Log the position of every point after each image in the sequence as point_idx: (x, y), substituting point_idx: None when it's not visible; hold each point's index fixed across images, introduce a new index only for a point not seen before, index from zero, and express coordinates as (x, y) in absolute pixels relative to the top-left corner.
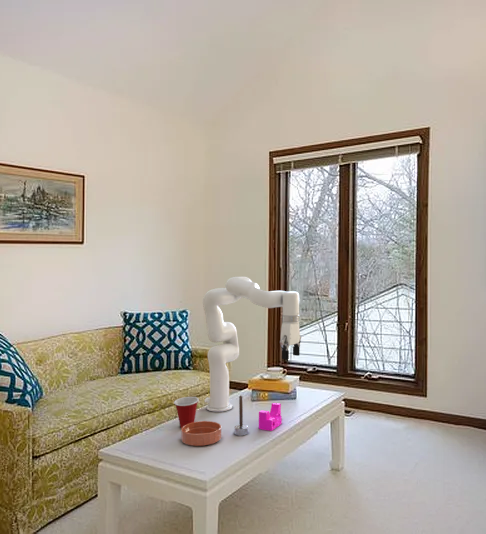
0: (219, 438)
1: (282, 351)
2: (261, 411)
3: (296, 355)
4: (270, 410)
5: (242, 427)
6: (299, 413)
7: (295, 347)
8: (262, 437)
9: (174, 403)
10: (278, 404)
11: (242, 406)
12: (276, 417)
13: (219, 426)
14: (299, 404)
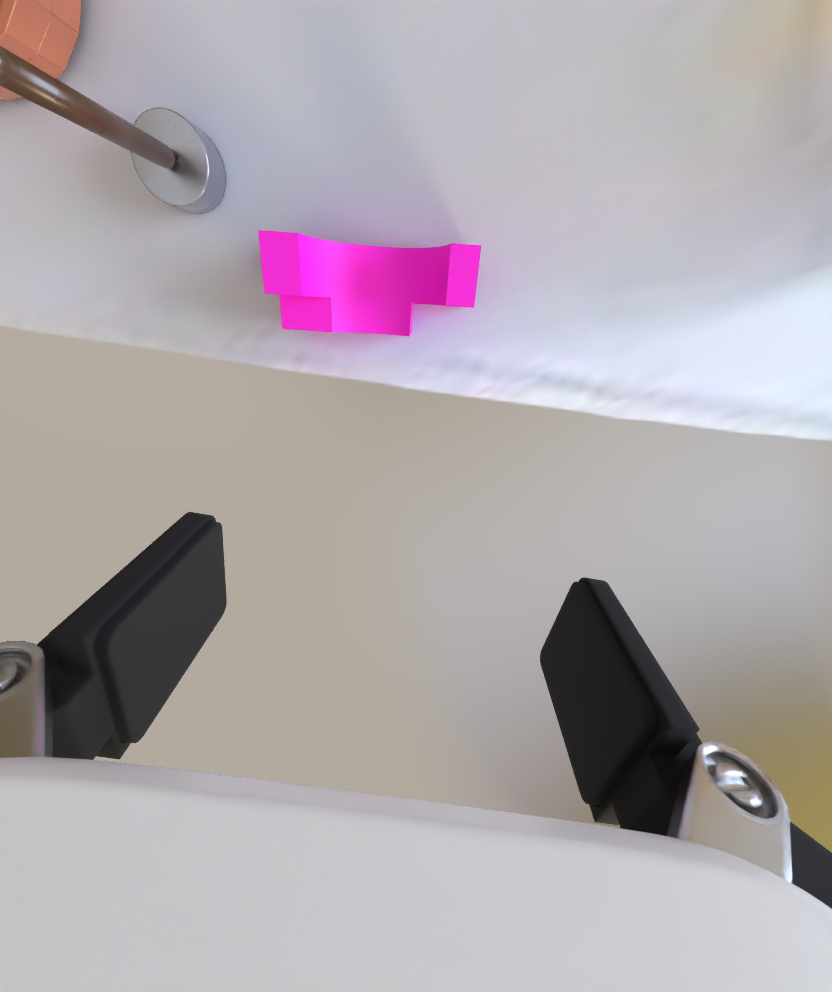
0: (4, 95)
1: (92, 611)
2: (274, 245)
3: (559, 624)
4: (433, 247)
5: (164, 176)
6: (590, 366)
7: (611, 755)
8: (206, 316)
9: None
10: (452, 299)
11: (74, 121)
12: (393, 310)
13: (6, 16)
14: (763, 310)
